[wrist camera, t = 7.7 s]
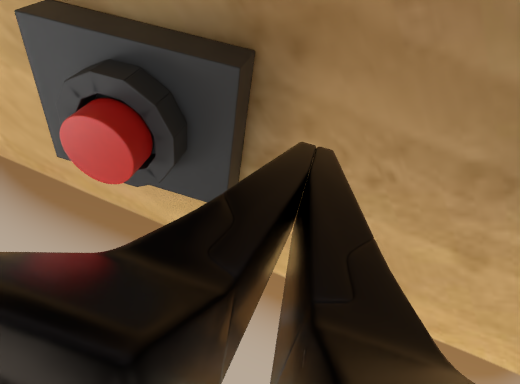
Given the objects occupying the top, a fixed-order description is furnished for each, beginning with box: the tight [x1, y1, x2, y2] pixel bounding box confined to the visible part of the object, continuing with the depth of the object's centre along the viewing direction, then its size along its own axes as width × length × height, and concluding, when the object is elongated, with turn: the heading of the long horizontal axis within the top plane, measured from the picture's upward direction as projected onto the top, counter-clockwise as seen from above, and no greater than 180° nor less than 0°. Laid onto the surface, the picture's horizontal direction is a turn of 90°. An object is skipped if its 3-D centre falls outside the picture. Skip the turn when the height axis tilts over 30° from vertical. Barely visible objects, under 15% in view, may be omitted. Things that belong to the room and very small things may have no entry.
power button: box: [60, 98, 153, 184], centre depth 20 cm, size 4×4×2 cm
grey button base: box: [15, 0, 255, 202], centre depth 23 cm, size 13×10×4 cm
